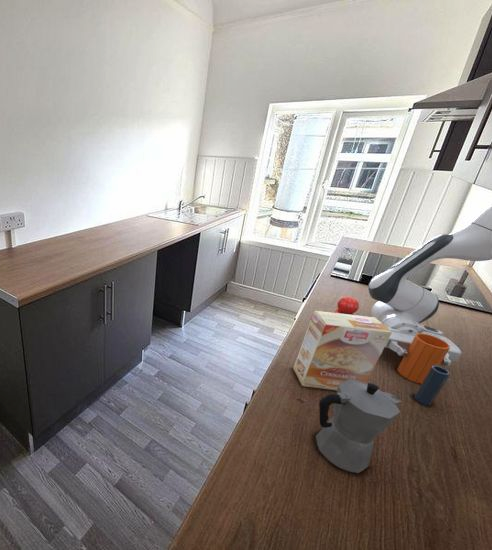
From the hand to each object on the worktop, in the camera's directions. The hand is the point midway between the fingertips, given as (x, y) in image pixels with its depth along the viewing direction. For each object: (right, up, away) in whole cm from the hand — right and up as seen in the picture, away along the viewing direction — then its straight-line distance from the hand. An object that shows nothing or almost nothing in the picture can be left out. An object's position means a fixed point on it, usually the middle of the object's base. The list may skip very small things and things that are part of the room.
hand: (424, 358), depth 81 cm
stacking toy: (-18, -1, +13) cm, 22 cm away
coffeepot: (-39, -14, -20) cm, 46 cm away
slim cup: (-6, -9, -6) cm, 12 cm away
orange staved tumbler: (0, -6, +3) cm, 7 cm away
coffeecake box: (-28, -6, -1) cm, 28 cm away
